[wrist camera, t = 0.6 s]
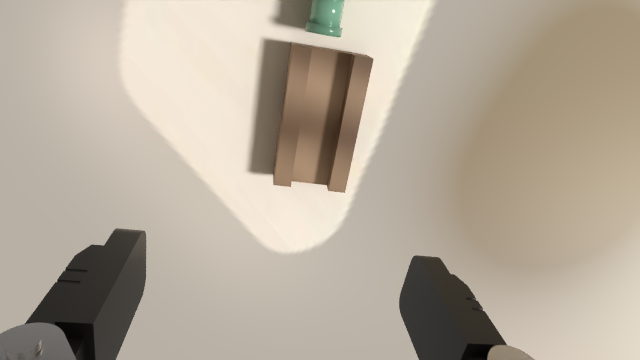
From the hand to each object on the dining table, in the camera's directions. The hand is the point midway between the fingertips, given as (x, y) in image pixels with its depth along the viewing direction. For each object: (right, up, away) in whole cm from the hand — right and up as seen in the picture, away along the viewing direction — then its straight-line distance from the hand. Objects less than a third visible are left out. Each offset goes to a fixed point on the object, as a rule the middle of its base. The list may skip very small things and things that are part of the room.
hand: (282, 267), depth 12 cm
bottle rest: (+1, +8, +21) cm, 23 cm away
